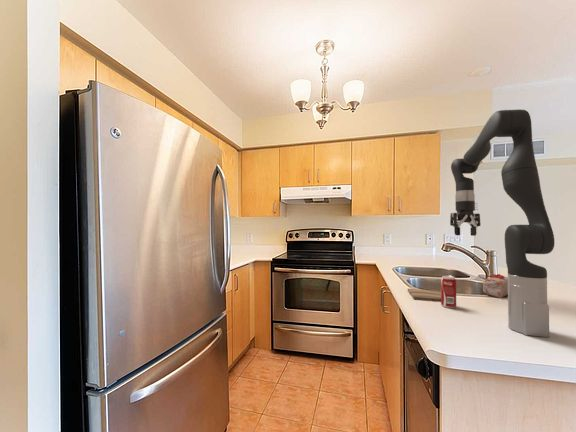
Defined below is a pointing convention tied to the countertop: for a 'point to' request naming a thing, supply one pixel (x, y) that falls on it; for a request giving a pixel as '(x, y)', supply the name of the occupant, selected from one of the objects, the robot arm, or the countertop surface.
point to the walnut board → (425, 294)
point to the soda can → (448, 291)
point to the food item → (496, 286)
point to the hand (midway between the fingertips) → (465, 235)
